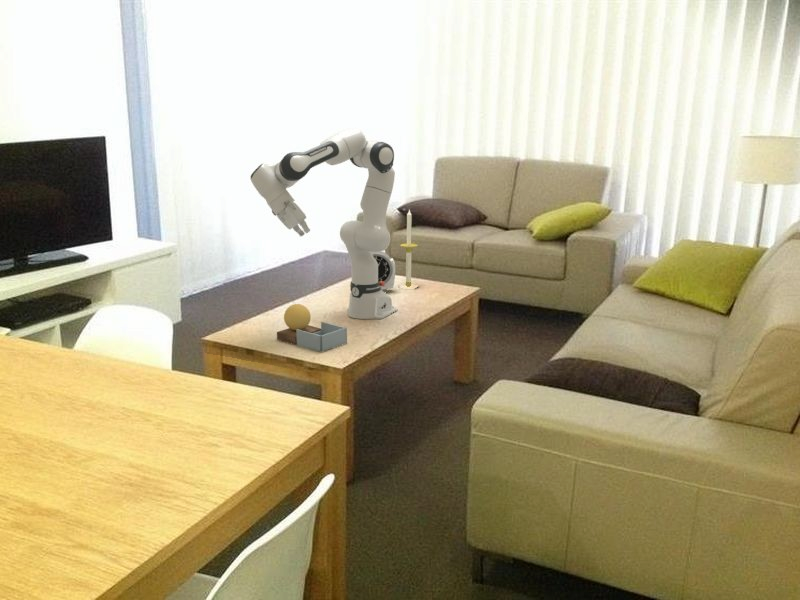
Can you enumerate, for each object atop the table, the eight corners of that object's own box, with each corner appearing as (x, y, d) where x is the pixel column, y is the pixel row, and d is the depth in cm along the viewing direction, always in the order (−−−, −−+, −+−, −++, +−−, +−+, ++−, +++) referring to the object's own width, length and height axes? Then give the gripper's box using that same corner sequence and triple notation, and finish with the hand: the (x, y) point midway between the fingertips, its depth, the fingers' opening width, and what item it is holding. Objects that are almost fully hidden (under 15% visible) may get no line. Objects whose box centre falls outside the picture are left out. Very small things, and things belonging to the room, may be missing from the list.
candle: (421, 288, 381) (422, 210, 372) (401, 289, 379) (402, 210, 369) (415, 283, 391) (416, 206, 381) (395, 285, 388) (396, 207, 378)
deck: (303, 331, 314) (303, 323, 313) (322, 336, 308) (321, 328, 307) (276, 339, 304) (276, 332, 303) (295, 345, 298) (295, 337, 297)
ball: (297, 324, 312) (297, 299, 310) (316, 329, 306) (315, 304, 304) (278, 330, 305) (278, 304, 302) (297, 335, 299) (296, 309, 296)
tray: (322, 336, 308) (322, 321, 306) (346, 343, 300) (346, 327, 299) (296, 345, 298) (296, 329, 296) (321, 352, 290) (321, 336, 288)
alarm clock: (356, 293, 371) (355, 250, 366) (356, 289, 380) (356, 246, 374) (395, 293, 371) (395, 250, 366) (395, 289, 380) (395, 247, 374)
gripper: (294, 194, 290) (318, 225, 292) (284, 203, 309) (306, 232, 312) (281, 204, 288) (305, 235, 291) (271, 213, 308) (293, 242, 310)
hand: (305, 233), depth 301 cm, fingers open, 8 cm apart
